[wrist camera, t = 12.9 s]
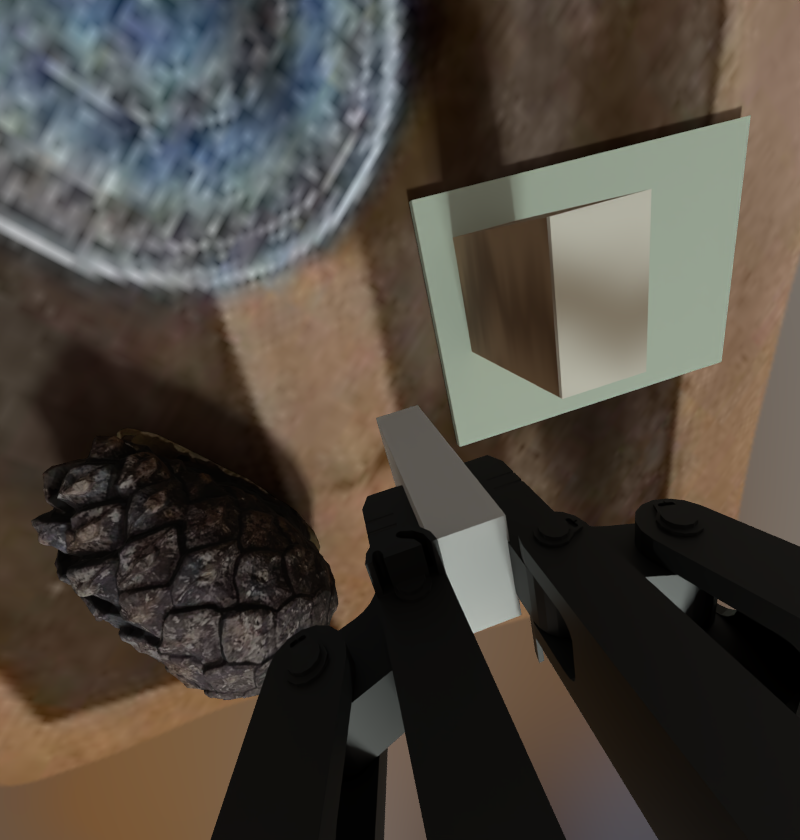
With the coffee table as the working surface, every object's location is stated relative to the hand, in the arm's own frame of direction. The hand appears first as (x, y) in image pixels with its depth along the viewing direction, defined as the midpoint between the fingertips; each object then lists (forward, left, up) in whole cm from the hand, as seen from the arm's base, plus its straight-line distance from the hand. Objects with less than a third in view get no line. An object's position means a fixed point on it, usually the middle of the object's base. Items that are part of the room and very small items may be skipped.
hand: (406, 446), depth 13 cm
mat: (0, +16, -12) cm, 20 cm away
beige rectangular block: (-2, +9, -12) cm, 15 cm away
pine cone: (+8, -13, -13) cm, 20 cm away
